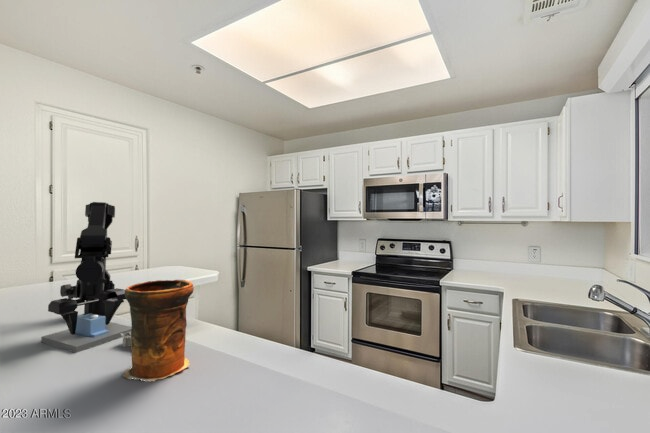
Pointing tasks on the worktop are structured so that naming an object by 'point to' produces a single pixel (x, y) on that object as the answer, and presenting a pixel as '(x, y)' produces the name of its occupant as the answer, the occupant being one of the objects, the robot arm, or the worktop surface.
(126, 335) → the egg carton
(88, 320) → the servo
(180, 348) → the vessel
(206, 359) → the worktop surface
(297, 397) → the worktop surface
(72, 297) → the robot arm
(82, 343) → the chassis
